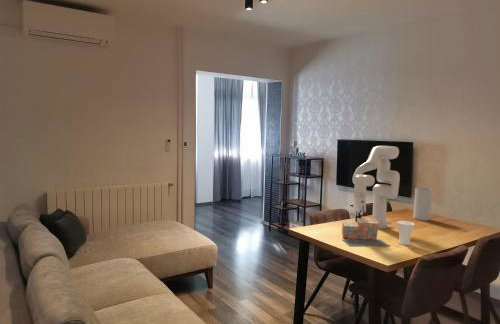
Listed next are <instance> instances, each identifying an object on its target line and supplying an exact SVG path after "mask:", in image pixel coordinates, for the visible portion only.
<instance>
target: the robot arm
mask: <svg viewBox="0 0 500 324" xmlns="http://www.w3.org/2000/svg"><path fill="white" fill-rule="evenodd" d="M399 154H400V149H399V147H397V146H392V145H391V146H390V145H376V146H374V147H372V149H371V150H370V153H369V155H368V158H367V159H366V162H364V163H362V164H361V165H359V166H358V167H357V168H356V169H355V171H354V173H353V175H352V183H353V185H354V187H353V188H354V189H353V190H354V192H353V204H352V209H353V210H354V212H355V218H354V219H355V221H354V222H357V218H362V216H363V215H364V213H366V212H367V199H366V198H367V187H372V196H373V198H372V199H373V202H372V214H371V215H372V218H371V219H377V221H378V229H381V230H382V229H383V230H384V229H387V228H388V225H392V224H393V222H392V221H387V207H388V203H387V200H386V199H391V200H395V199H397V197H398V195H399V190H400V189H399V188H400V181H401V180H400V179H401V177H400V176H401V175H400V173H399V172H398V171H397V170H391V161H390V160H394V159H397V158H398V156H399ZM373 170H377V171H376V180H375V177H374V176H373V175H372V174H371V175H370V174H364V173H366V172H370V171H373ZM375 181H377V182H378V183H376V184H375ZM381 183H383V184H381ZM374 184H375V185H374ZM389 184H390V185H389Z"/></svg>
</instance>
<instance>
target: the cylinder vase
mask: <svg viewBox="0 0 500 324" xmlns="http://www.w3.org/2000/svg"><path fill="white" fill-rule="evenodd" d="M432 200H433V189H432V188H428V187H416V188H415V191H414V204H413V214H412V215H413V219H414V220H417V221H424V222H425V221H426V222H427V221H428V222H429V221H430V220H431V214H432V213H431V210H432Z"/></svg>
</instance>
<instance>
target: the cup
mask: <svg viewBox="0 0 500 324" xmlns="http://www.w3.org/2000/svg"><path fill="white" fill-rule="evenodd" d="M396 224H397V227H398V231H399V236H398V238H399V240H398V243H399V244H400V245H403V246H409V245H411V243H410V242H411V235H412V232H413V229H414V227H415V222H412V221H408V220H397V221H396Z"/></svg>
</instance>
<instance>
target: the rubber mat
mask: <svg viewBox="0 0 500 324" xmlns="http://www.w3.org/2000/svg"><path fill="white" fill-rule="evenodd" d="M342 242H344V243H345V244H346V245H348V246H349V247H391V245H390V244H388V243H386V242H385V241H384V240H382V239H380V238H378V239H376V240H367V239H342Z"/></svg>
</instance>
